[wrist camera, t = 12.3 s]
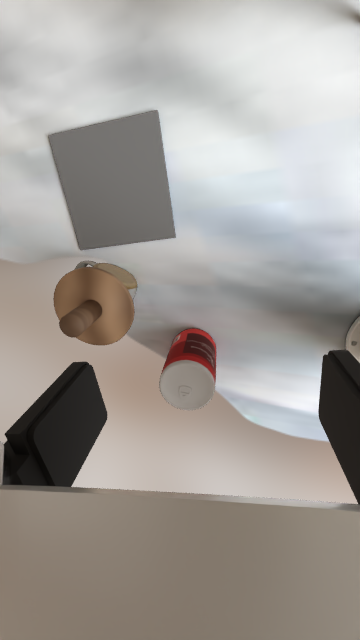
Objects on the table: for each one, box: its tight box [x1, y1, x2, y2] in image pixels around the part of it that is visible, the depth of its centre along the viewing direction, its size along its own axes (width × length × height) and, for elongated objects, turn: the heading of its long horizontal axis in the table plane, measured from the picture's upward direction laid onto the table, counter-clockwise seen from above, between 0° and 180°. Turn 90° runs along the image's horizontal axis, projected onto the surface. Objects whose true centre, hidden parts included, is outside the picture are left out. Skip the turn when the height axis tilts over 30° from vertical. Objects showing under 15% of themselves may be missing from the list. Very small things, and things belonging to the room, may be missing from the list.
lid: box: [54, 267, 134, 345], centre depth 33 cm, size 11×11×6 cm
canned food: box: [159, 328, 216, 410], centre depth 40 cm, size 8×8×11 cm
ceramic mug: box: [75, 261, 137, 300], centre depth 39 cm, size 11×8×8 cm
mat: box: [48, 110, 176, 250], centre depth 36 cm, size 15×15×1 cm
